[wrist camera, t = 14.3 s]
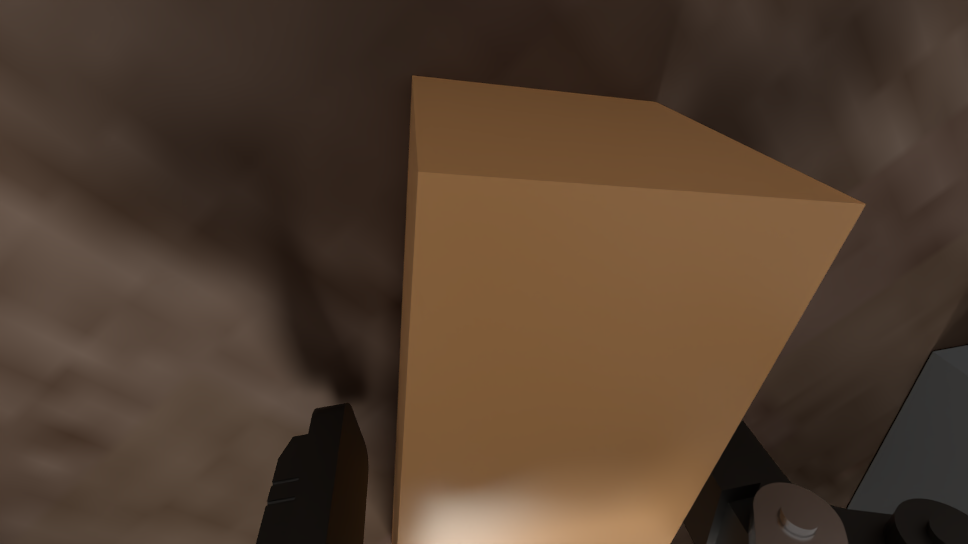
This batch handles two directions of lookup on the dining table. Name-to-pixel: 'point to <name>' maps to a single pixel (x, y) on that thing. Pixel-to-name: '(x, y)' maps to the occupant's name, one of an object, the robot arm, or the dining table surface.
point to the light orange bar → (586, 310)
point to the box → (924, 442)
